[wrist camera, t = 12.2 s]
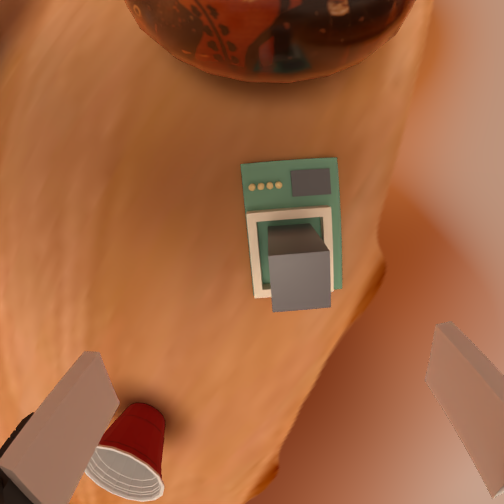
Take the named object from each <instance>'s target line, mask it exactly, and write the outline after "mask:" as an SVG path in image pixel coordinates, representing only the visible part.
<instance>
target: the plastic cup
mask: <svg viewBox="0 0 504 504" xmlns="http://www.w3.org/2000/svg"><path fill="white" fill-rule="evenodd" d="M164 430H165V420H164V417H163V415H162V414H161V413H160V412H159V411H158V410H157V409H155V408H154V407H152V406H150V405H147V404H144V403H134V404H131V405H130V406H128V408H127V409H126V410H125V411H124V412H123V413H122V415H121V416H119V417H118V418H117V419H116V420H115V422H114V423H113V424H112V425H111V426H110V427H109V428H108V430H107V431H106V432H105V433H104V434H103V436H102V438H101V440H100V442H99V444H98V445H97V447H96V449H95V451H94V453H93V455H92V457H91V459H90V461H89V463H88V465H87V467H86V469H85V471H84V472H85V473H86V475H87V476H88V477H90V478H91V479H92V480H93V481H94V482H95V483H96V484H97V485H99V486H100V487H102V488H104V489H105V490H107V491H109V492H110V493H112V494H115V495H117V496H120V497H123V498H125V499H129V500H135V501H142V502H143V501H152V500H156V499H157V498H159V497H161V496H162V495H163V491H164V483H163V481H162V475H161V462H162V452H163V443H164Z"/></svg>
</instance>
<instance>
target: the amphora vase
mask: <svg viewBox="0 0 504 504" xmlns="http://www.w3.org/2000/svg"><path fill="white" fill-rule="evenodd" d="M124 1H125V3H126V5H127V7H128V9H129V10H130V12H131V14H132V15H133V17H134V19H135V20H136V22H137V24H138V25H139V27H140V29H141V30H143V31H144V32H145V33H146V34H147V35H149V36H150V37H151V38H152V39H153V40H155V41H156V42H157V43H158V44H160V45H161V46H162V47H163V48H164V49H166V50H167V51H168V52H169V53H170V54H172V55H173V56H174V57H175V58H176V59H178V60H180V61H183V62H185V63H187V64H189V65H192V66H194V67H196V68H198V69H200V70H202V71H204V72H206V73H208V74H213V75H218V76H222V77H227V78H231V79H236V80H240V81H244V82H267V83H292V82H297V81H303V80H309V79H315V78H321V77H327V76H330V75H332V74H334V73H337V72H339V71H342V70H344V69H347V68H349V67H352V66H354V65H357V64H359V63H361V62H362V61H363V60H364V59H366V58H367V57H368V56H369V55H371V54H372V53H373V52H374V51H376V50H377V49H378V48H379V47H381V46H382V45H383V44H384V43H386V42H387V41H388V40H390V39H391V38H392V37H393V36H395V35H396V33H397V32H398V30H399V29H400V27H401V25H402V24H403V22H404V21H405V19H406V17H407V16H408V14H409V12H410V11H411V9H412V7H413V5H414V3H415V1H416V0H124Z"/></svg>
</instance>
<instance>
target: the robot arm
mask: <svg viewBox="0 0 504 504" xmlns="http://www.w3.org/2000/svg"><path fill="white" fill-rule="evenodd" d="M425 382H426V383H427V385H428V386H429V388H430V390H431V391H432V393H433V394H434V396H435V398H436V399H437V401H438V402H439V404H440V406H441V407H442V409H443V411H444V412H445V414H446V416H447V417H448V419H449V421H450V422H451V424H452V426H453V427H454V429H455V431H456V432H457V434H458V436H459V438H460V439H461V441H462V443H463V444H464V446H465V448H466V450H467V452H468V454H469V455H470V457H471V459H472V460H473V463H474V464H475V466H476V468H477V470H478V472H479V473H480V476H481V477H482V479H483V481H484V483H485V485H486V487H487V489H488V491H489V493H490V495H491V497H492V498H494V497H496V496H498V495H500V494H502V493H504V375H503V374H502V373H501V372H500V371H499V370H498V369H497V368H496V367H495V366H494V364H493V363H491V361H490V360H489V359H488V358H487V357H486V356H485V355H484V354H483V353H482V352H481V351H480V350H479V349H478V348H477V347H476V346H475V344H474V343H472V341H471V340H470V339H469V338H468V337H466V335H464V333H463V332H462V331H461V330H460V329H459V328H458V327H457V326H455V324H454V323H453V322H446V323H441V324H436V325H435V332H434V338H433V343H432V349H431V353H430V358H429V364H428V368H427V372H426V377H425ZM119 404H120V402H119V400H118V398H117V395H116V393H115V391H114V388H113V386H112V383H111V381H110V379H109V376H108V374H107V371H106V369H105V366H104V363H103V361H102V358H101V355H100V353H99V352H88V351H84V352H83V354H82V355H81V356H80V357H79V358H78V360H77V361H76V362H75V363H74V364H73V366H72V367H71V368H70V369H69V370H68V372H67V373H66V374H65V375H64V376H63V378H62V379H61V380H60V381H59V383H58V384H57V385H56V386H55V387H54V389H53V390H52V391H51V392H50V394H49V395H48V396H47V397H46V399H45V400H44V401H43V403H42V404H41V405H40V406H39V408H38V409H37V410H36V411H35V413H34V412H32V413H31V414H30V415H28V416H27V417H25V418H24V419H23V420H22V421H21V422H20V424H19V425H18V426H17V427H16V431H15V430H14V431H13V433H12V434H11V435H10V438H8V439H7V441H6V442H5V443H4V445H3V446H2V447H1V449H0V504H68V503H69V501H70V499H71V497H72V495H73V493H74V491H75V489H76V487H77V485H78V483H79V481H80V479H81V477H82V475H83V473H84V471H85V469H86V467H87V465H88V463H89V461H90V459H91V457H92V455H93V453H94V451H95V449H96V447H97V445H98V444H99V442H100V440H101V438H102V436H103V434H104V432H105V430H106V428H107V426H108V424H109V423H110V421H111V419H112V417H113V415H114V413H115V411H116V410H117V408H118V406H119Z"/></svg>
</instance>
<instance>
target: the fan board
mask: <svg viewBox="0 0 504 504" xmlns="http://www.w3.org/2000/svg"><path fill="white" fill-rule="evenodd" d="M240 165H241V175H242V185H243V195H244V205H245V215H246V225H247V235H248V244H249V254H250V264H251V274H252V284H253V294H254V296H255V298H266V297H271V284H270V272H269V261H268V226H281V225H293V224H306V223H310V224H311V225H312V227H313V228H314V229H315V231H316V232H317V234H318V235H319V236H320V238H321V239H322V241H323V242H324V243H325V245H326V246H327V248H328V249H329V250H330V277H331V292H334V289H342V238H341V212H340V193H339V177H338V163H337V157H334V158H313V159H297V160H282V161H270V162H258V163H248V164H240Z"/></svg>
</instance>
